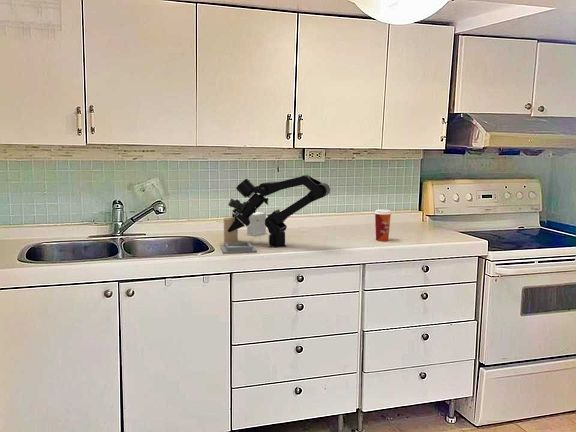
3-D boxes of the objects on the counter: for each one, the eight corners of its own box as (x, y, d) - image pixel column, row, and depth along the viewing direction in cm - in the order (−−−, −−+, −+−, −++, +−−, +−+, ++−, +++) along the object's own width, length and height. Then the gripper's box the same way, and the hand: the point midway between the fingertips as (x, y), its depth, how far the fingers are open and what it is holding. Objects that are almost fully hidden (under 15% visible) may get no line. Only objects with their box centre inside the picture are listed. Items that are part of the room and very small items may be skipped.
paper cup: (384, 242, 257) (385, 212, 255) (370, 240, 262) (371, 210, 260) (393, 240, 262) (394, 210, 260) (379, 238, 268) (380, 208, 265)
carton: (236, 243, 253) (236, 217, 251) (237, 246, 248) (237, 219, 246) (223, 244, 252) (223, 217, 250) (225, 246, 247) (224, 219, 245)
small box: (257, 232, 280) (257, 211, 278) (266, 234, 276) (266, 212, 275) (246, 235, 274) (246, 213, 272) (255, 236, 270) (255, 214, 269)
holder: (252, 246, 247) (252, 241, 246) (256, 252, 235) (256, 247, 235) (220, 247, 244) (220, 242, 244) (223, 253, 232) (223, 248, 232)
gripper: (236, 190, 256) (212, 214, 255) (242, 194, 238) (216, 221, 237) (254, 206, 259) (230, 231, 258) (260, 212, 241) (234, 239, 240)
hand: (227, 230), depth 248 cm, fingers closed on carton, 5 cm apart
